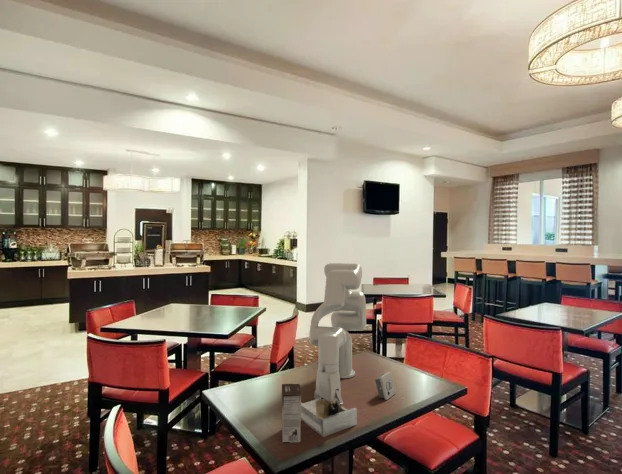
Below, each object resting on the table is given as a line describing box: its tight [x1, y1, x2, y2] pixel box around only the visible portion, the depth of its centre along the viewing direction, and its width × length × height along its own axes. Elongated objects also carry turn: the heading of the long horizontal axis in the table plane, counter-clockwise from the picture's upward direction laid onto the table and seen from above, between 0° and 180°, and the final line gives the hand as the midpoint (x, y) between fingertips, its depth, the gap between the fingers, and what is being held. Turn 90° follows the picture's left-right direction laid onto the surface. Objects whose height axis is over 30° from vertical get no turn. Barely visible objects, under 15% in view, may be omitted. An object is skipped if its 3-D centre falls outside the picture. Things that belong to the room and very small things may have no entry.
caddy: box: [301, 390, 358, 438], centre depth 138 cm, size 24×15×6 cm, turn 33°
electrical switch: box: [374, 371, 397, 401], centre depth 157 cm, size 9×5×9 cm, turn 141°
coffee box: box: [281, 383, 302, 443], centre depth 125 cm, size 9×6×16 cm
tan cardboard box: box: [316, 398, 343, 418], centre depth 134 cm, size 5×8×7 cm, turn 123°
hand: (328, 414), depth 134 cm, fingers open, 6 cm apart
